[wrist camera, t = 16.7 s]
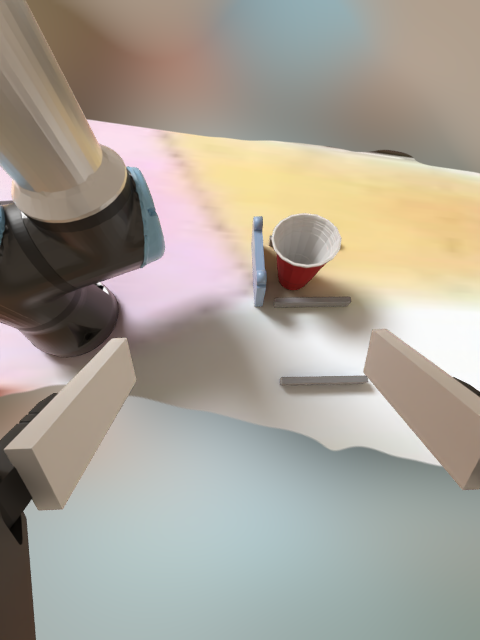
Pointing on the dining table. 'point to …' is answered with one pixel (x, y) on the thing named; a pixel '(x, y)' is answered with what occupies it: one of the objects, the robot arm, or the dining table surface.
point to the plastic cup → (303, 248)
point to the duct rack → (259, 294)
